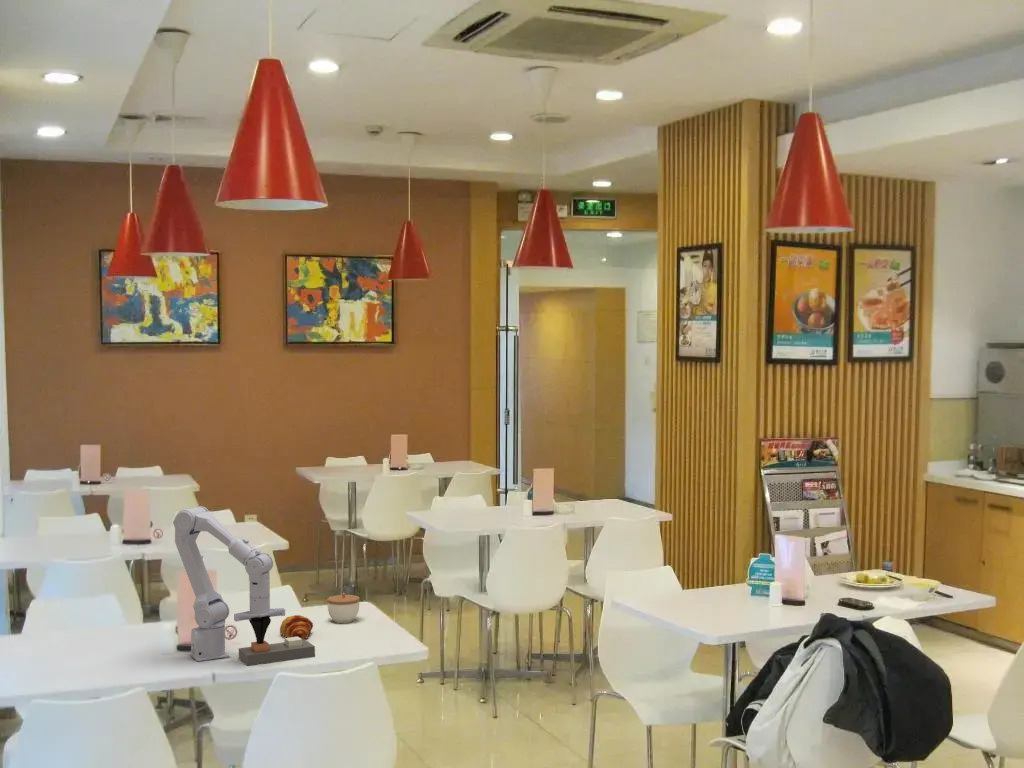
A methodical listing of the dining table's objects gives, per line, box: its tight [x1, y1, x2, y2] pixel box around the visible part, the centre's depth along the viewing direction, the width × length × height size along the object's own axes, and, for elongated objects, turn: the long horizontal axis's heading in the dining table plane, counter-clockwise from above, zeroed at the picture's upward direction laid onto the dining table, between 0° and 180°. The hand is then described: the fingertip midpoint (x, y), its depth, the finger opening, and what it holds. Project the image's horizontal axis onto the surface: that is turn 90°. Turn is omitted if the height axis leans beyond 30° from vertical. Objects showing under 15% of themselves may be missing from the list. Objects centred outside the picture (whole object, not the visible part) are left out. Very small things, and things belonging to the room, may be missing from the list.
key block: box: [238, 639, 316, 667], centre depth 313 cm, size 20×9×3 cm, turn 120°
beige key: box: [284, 637, 303, 648], centre depth 315 cm, size 4×4×3 cm
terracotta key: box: [250, 640, 269, 653], centre depth 310 cm, size 4×4×3 cm
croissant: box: [279, 614, 314, 640], centre depth 340 cm, size 21×10×8 cm, turn 20°
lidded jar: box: [326, 592, 360, 624], centre depth 358 cm, size 11×11×9 cm
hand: (260, 643), depth 310 cm, fingers closed, pressing on terracotta key
